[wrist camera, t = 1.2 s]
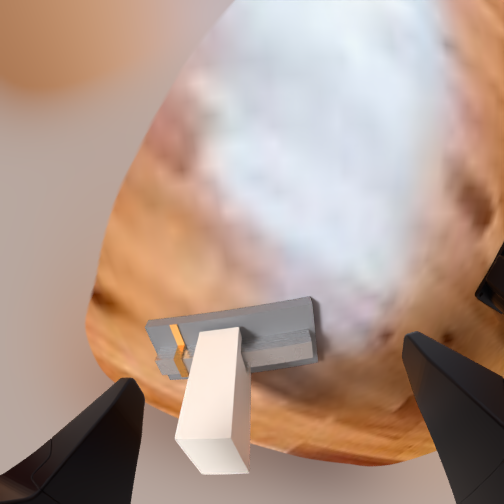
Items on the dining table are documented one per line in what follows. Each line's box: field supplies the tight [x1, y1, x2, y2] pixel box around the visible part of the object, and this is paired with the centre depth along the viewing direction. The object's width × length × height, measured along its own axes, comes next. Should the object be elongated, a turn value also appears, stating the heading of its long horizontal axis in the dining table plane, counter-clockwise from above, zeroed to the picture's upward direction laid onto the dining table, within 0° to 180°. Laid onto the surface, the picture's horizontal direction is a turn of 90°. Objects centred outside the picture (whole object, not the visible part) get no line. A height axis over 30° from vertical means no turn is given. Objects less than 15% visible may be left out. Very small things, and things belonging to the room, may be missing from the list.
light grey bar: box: [155, 329, 313, 377], centre depth 22 cm, size 12×2×2 cm, turn 101°
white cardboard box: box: [175, 327, 251, 474], centre depth 18 cm, size 3×5×10 cm, turn 11°
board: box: [145, 297, 318, 380], centre depth 23 cm, size 13×6×1 cm, turn 101°
